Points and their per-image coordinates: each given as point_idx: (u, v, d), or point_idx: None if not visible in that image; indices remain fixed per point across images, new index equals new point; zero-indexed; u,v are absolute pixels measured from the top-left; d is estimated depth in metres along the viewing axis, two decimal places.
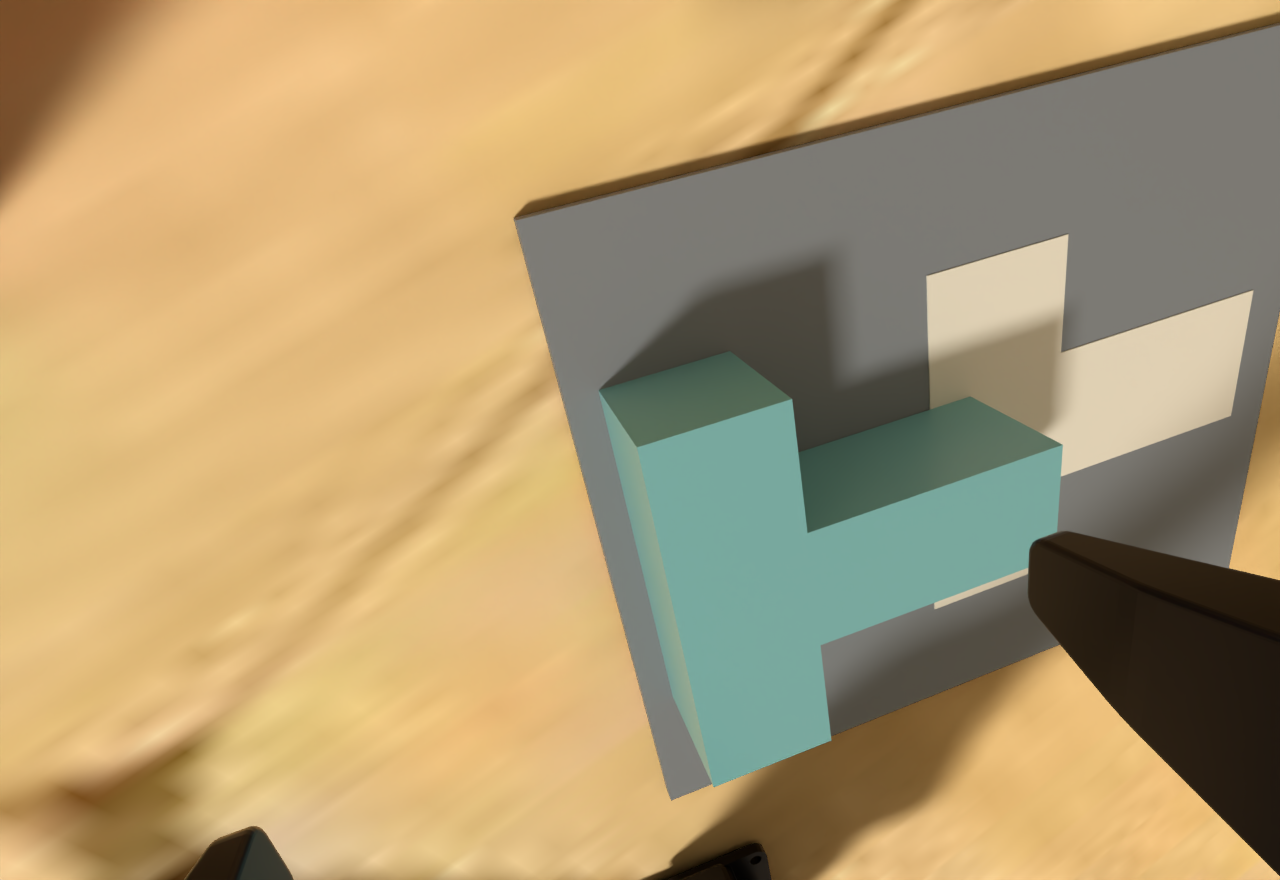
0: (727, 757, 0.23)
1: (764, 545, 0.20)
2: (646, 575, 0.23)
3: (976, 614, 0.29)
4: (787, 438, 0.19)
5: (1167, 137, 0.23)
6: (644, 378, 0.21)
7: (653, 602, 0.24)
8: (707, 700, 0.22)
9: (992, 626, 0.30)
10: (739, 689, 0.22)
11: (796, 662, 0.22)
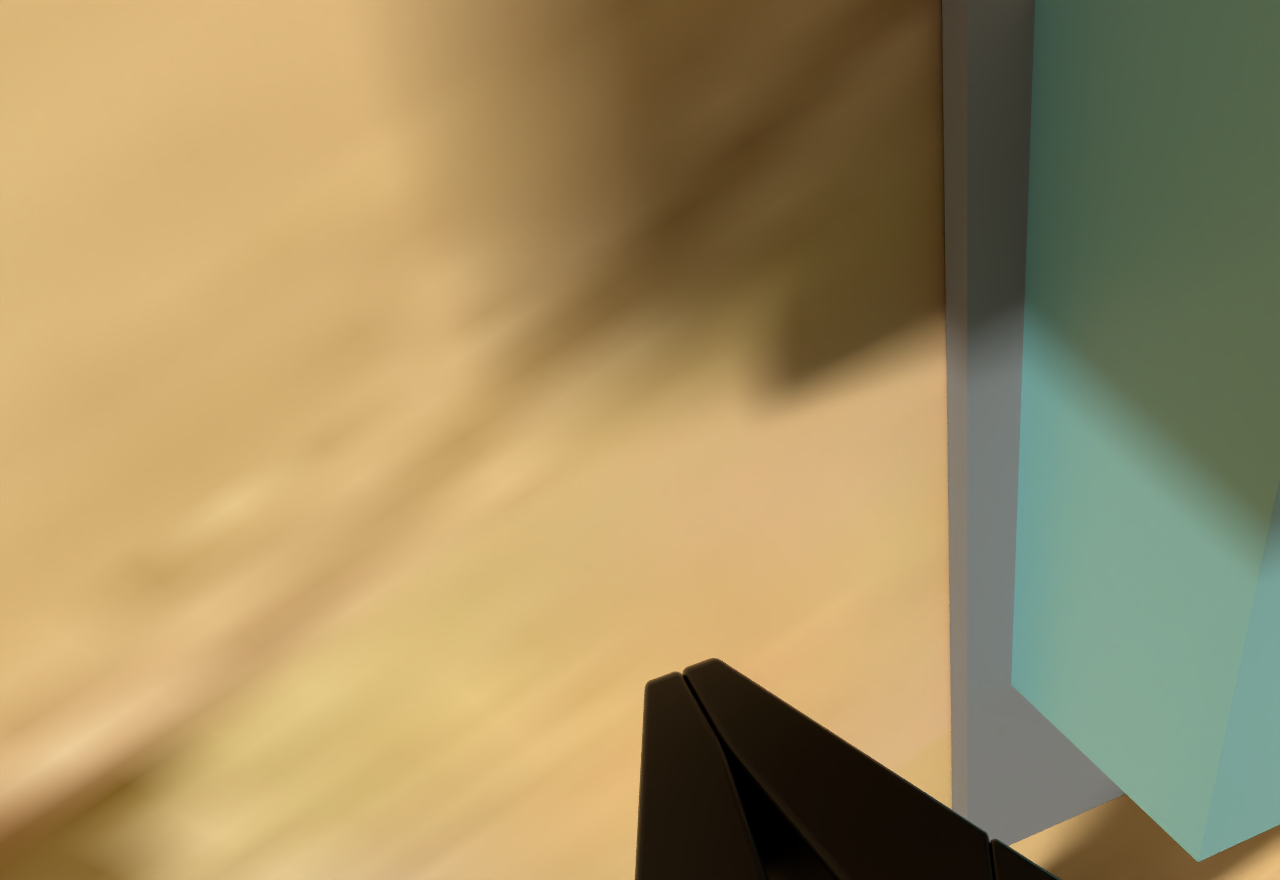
0: (1241, 802, 0.11)
1: None
2: (1052, 435, 0.12)
3: None
4: None
5: None
6: None
7: (1052, 493, 0.12)
8: (1258, 680, 0.10)
9: None
10: None
11: None
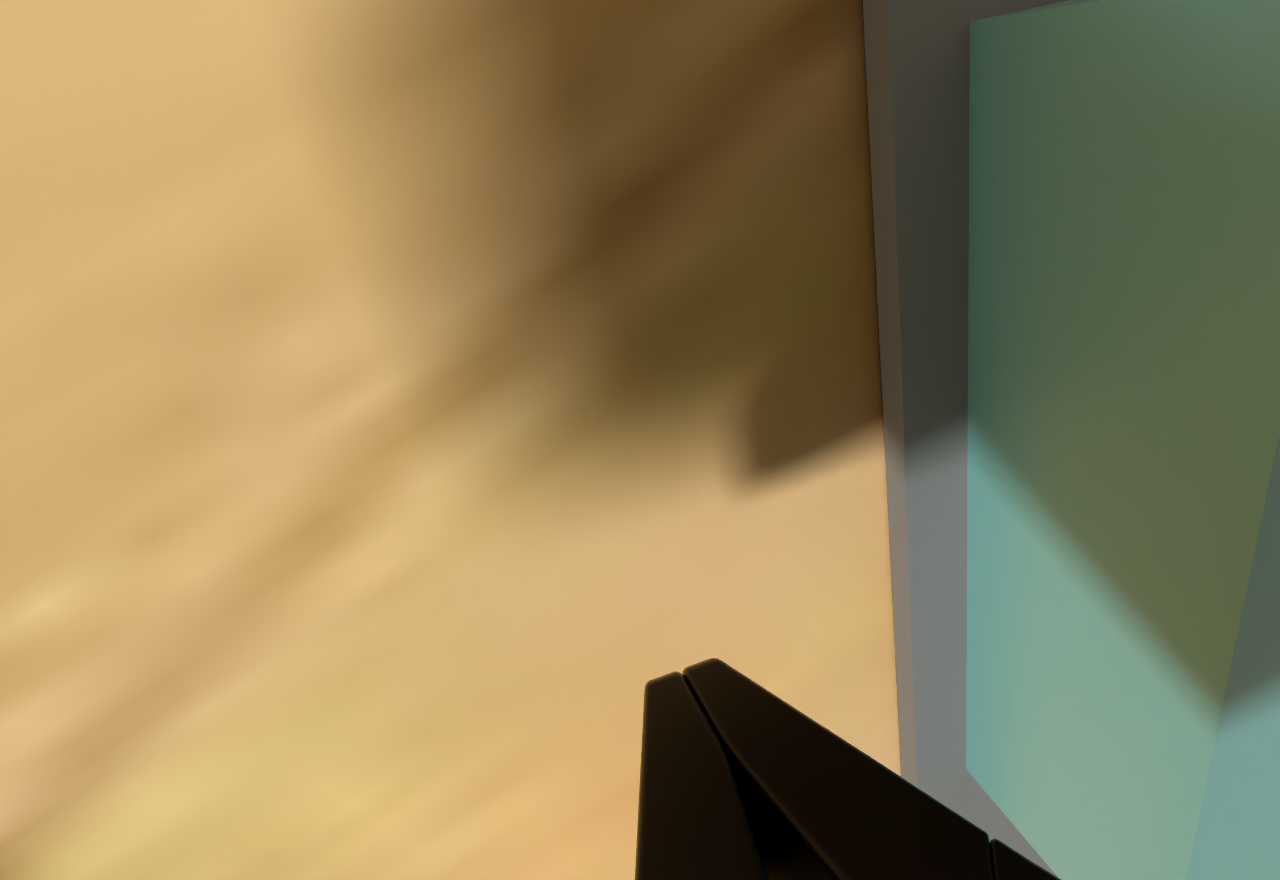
0: None
1: None
2: (999, 512, 0.10)
3: None
4: None
5: None
6: None
7: (1001, 575, 0.11)
8: (1225, 812, 0.09)
9: None
10: None
11: None
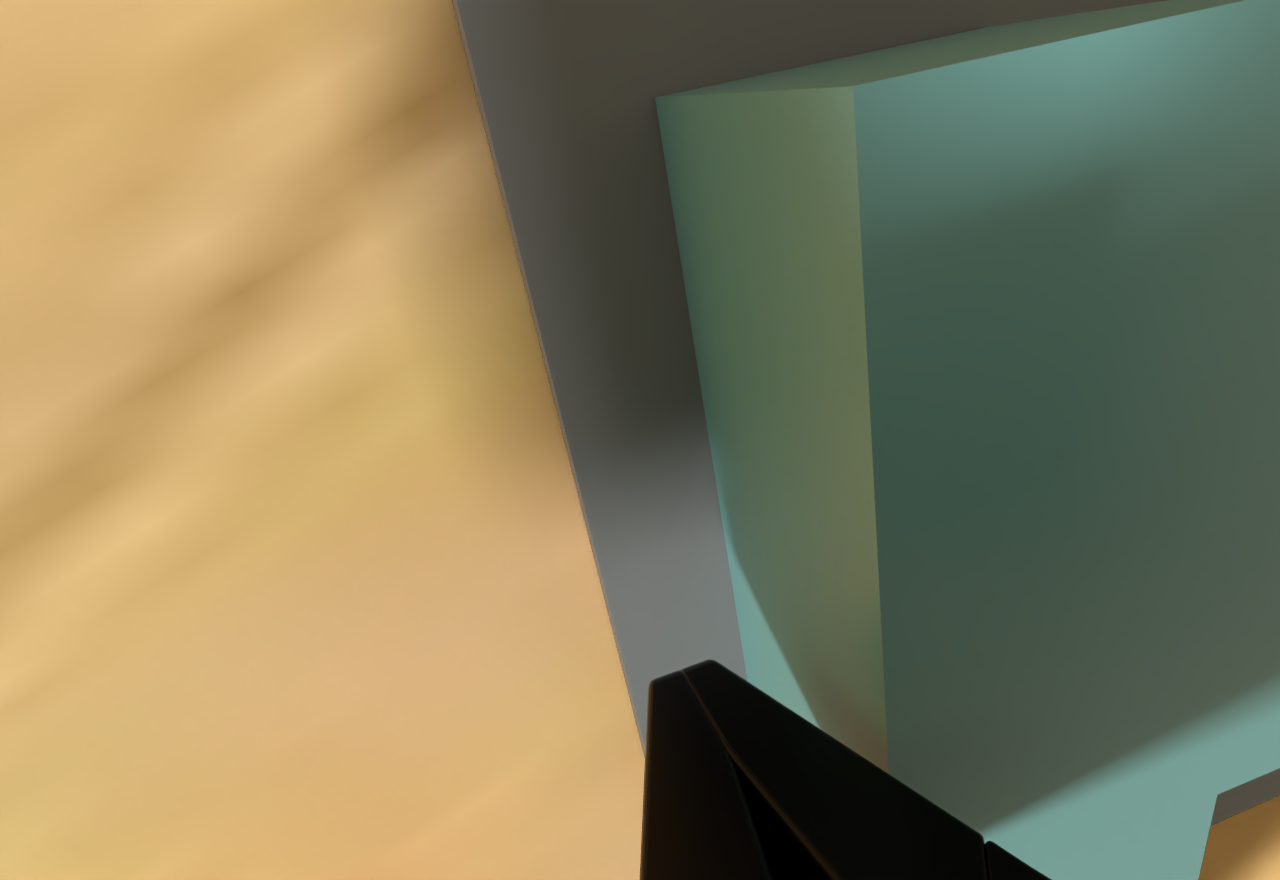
0: None
1: (1170, 518, 0.06)
2: (749, 601, 0.10)
3: None
4: None
5: None
6: (778, 72, 0.08)
7: (760, 663, 0.10)
8: None
9: None
10: None
11: (1152, 839, 0.08)
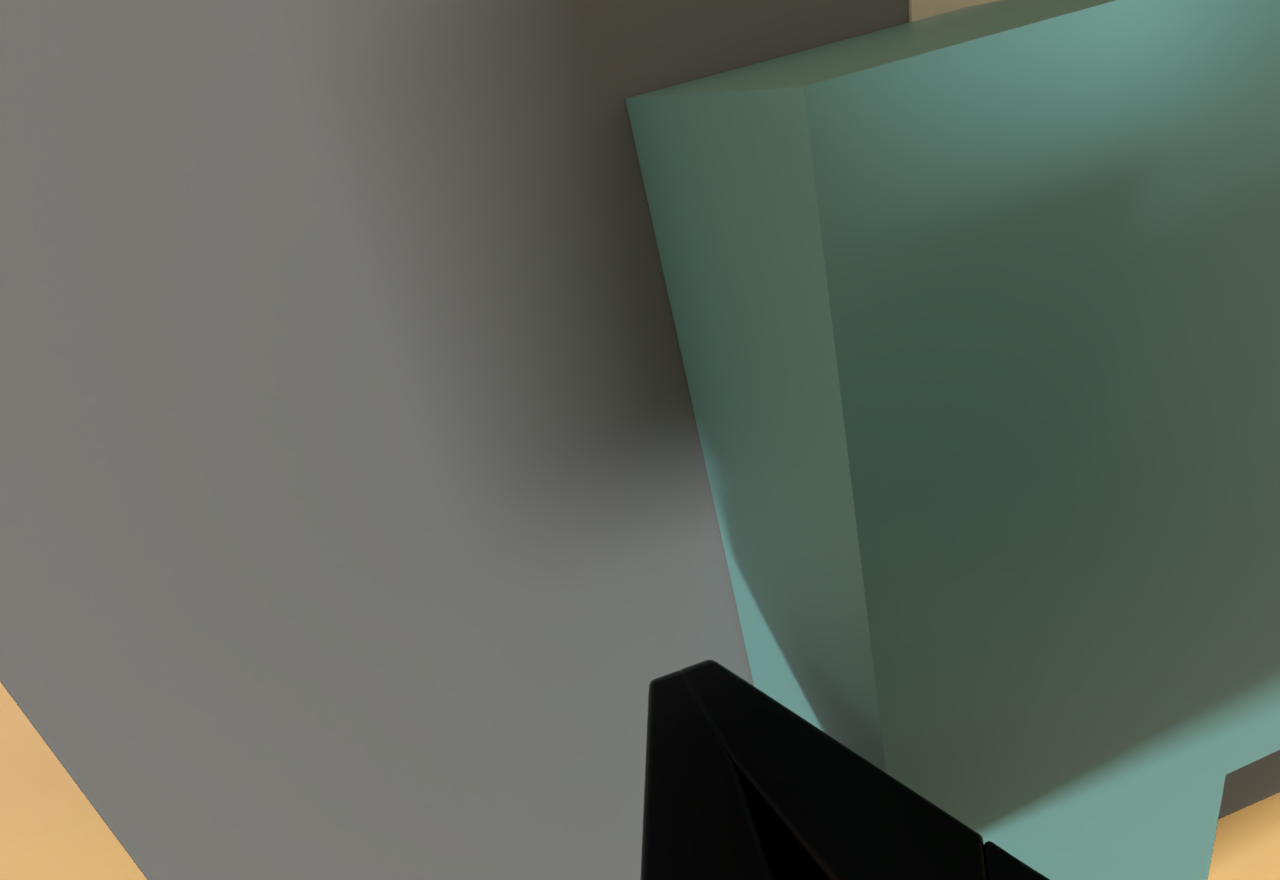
0: None
1: (1158, 503, 0.06)
2: (747, 597, 0.10)
3: None
4: None
5: None
6: (749, 66, 0.08)
7: (762, 659, 0.10)
8: None
9: None
10: None
11: (1162, 822, 0.08)
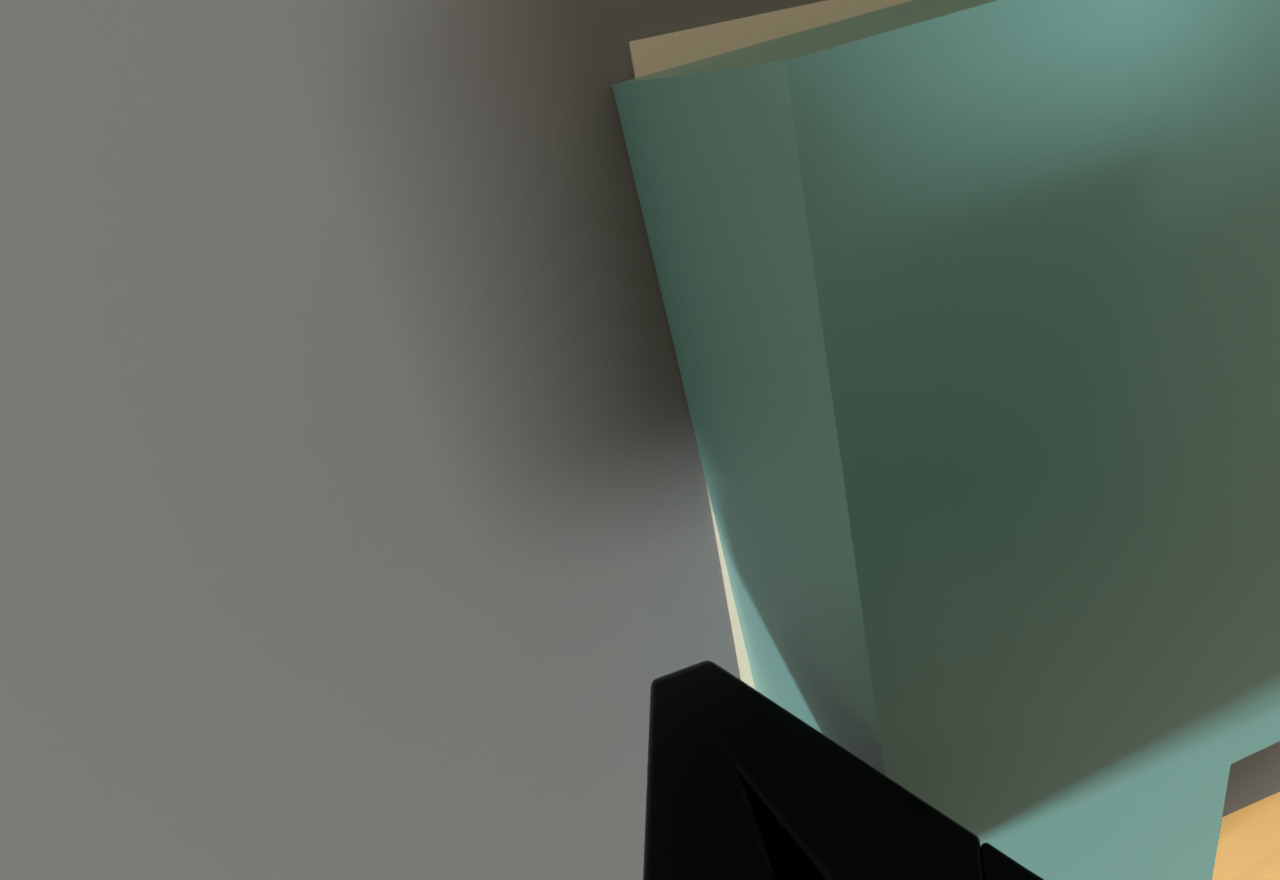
0: None
1: (1159, 487, 0.06)
2: (744, 590, 0.10)
3: None
4: None
5: None
6: (737, 50, 0.08)
7: (760, 653, 0.10)
8: None
9: None
10: None
11: (1166, 812, 0.08)
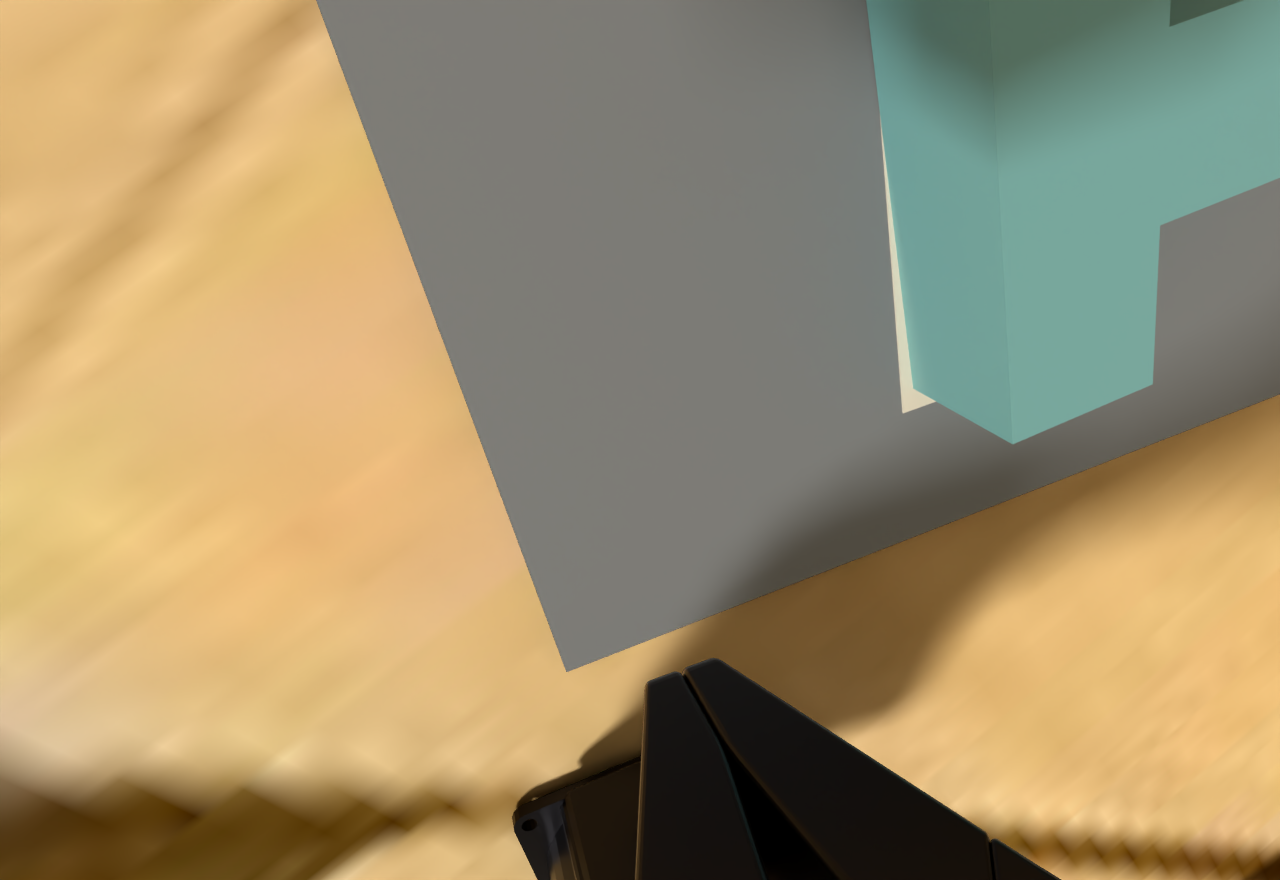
0: (1033, 398, 0.18)
1: (1115, 40, 0.15)
2: (904, 184, 0.18)
3: (959, 425, 0.23)
4: None
5: None
6: None
7: (910, 226, 0.19)
8: (1020, 301, 0.16)
9: (981, 444, 0.23)
10: (1059, 288, 0.17)
11: (1129, 251, 0.17)
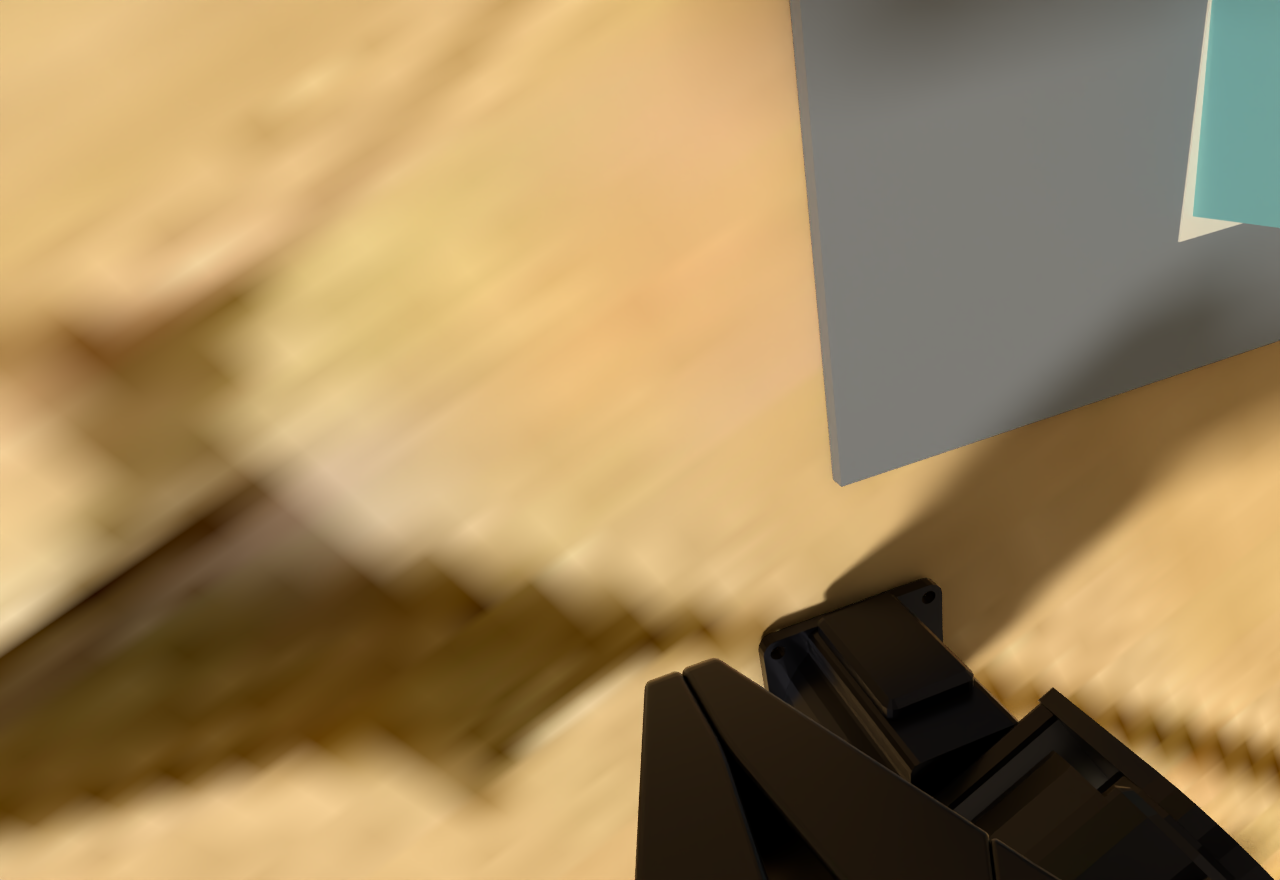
0: None
1: None
2: None
3: (1223, 262, 0.23)
4: None
5: None
6: None
7: (1237, 30, 0.19)
8: None
9: (1237, 286, 0.24)
10: None
11: None
